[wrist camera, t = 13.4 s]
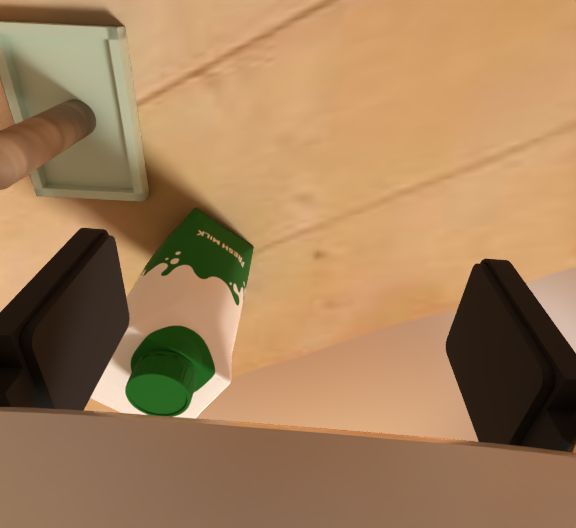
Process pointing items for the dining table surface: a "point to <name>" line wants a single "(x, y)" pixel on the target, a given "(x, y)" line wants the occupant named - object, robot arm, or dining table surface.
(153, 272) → the milk carton
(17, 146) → the pin
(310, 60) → the dining table surface
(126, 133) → the tray
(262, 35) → the dining table surface
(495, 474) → the robot arm
